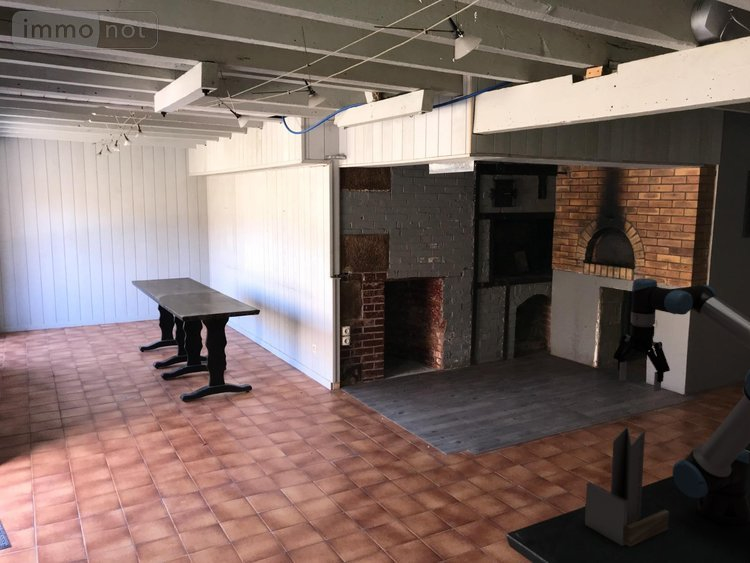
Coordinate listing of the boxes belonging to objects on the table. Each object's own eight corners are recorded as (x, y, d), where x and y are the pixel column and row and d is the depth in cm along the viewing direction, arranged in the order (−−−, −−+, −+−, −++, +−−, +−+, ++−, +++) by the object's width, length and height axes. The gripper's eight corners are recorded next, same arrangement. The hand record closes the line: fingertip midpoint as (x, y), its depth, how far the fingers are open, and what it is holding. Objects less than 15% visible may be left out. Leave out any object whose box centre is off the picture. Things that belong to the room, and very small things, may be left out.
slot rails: (667, 529, 194) (669, 511, 193) (629, 547, 185) (630, 528, 184) (621, 506, 209) (622, 489, 208) (584, 521, 200) (585, 503, 199)
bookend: (625, 544, 186) (627, 501, 184) (622, 546, 186) (624, 502, 184) (588, 523, 198) (590, 482, 196) (585, 524, 198) (586, 483, 196)
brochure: (627, 538, 190) (632, 445, 185) (609, 532, 193) (613, 440, 189) (640, 518, 201) (645, 429, 196) (622, 512, 204) (626, 426, 200)
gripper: (604, 319, 218) (602, 377, 221) (669, 333, 197) (665, 397, 200) (618, 316, 222) (616, 374, 225) (683, 330, 200) (679, 393, 204)
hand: (639, 385), depth 212 cm, fingers open, 13 cm apart
